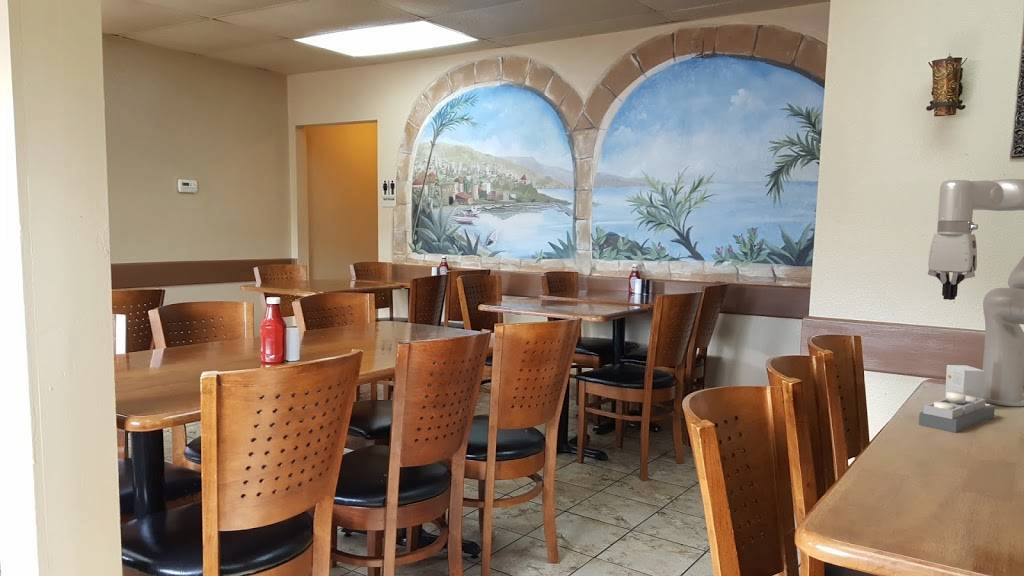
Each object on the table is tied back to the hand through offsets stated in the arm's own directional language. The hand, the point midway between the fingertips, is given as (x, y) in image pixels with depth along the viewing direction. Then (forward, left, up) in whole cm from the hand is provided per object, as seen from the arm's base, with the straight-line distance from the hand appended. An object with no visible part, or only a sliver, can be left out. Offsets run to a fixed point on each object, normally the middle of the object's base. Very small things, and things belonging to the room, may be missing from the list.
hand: (949, 299), depth 184 cm
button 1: (+19, +8, -26) cm, 33 cm away
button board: (+10, +7, -29) cm, 32 cm away
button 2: (+5, +8, -26) cm, 27 cm away
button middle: (+12, +7, -24) cm, 28 cm away
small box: (-9, +2, -29) cm, 31 cm away
